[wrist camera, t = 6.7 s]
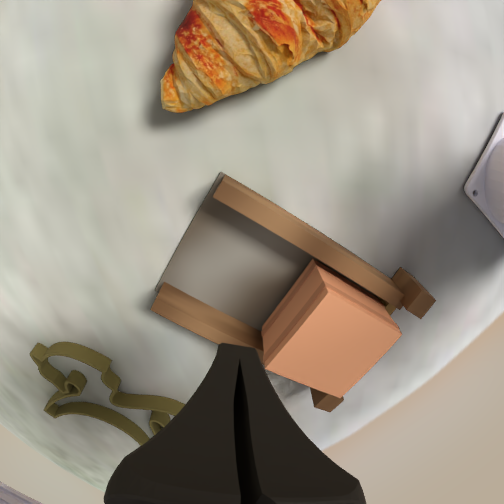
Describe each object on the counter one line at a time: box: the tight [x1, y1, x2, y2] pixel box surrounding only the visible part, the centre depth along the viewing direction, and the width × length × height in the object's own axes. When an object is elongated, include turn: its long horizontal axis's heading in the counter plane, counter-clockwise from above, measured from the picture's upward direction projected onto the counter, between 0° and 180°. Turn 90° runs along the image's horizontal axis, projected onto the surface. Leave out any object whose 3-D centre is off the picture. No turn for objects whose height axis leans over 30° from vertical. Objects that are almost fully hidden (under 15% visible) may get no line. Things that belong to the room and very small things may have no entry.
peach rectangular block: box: [261, 259, 402, 398], centre depth 20 cm, size 6×6×4 cm
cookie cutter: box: [30, 342, 185, 446], centre depth 26 cm, size 18×12×2 cm, turn 62°
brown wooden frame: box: [150, 172, 436, 412], centre depth 20 cm, size 15×11×4 cm
